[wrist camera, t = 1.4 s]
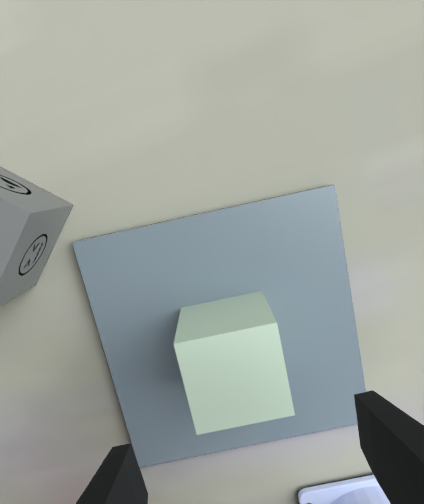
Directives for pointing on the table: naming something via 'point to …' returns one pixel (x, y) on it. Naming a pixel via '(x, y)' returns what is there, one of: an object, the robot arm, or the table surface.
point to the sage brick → (232, 363)
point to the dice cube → (26, 232)
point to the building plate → (221, 287)
